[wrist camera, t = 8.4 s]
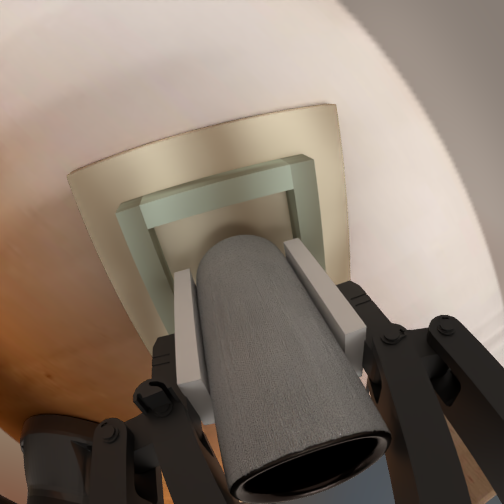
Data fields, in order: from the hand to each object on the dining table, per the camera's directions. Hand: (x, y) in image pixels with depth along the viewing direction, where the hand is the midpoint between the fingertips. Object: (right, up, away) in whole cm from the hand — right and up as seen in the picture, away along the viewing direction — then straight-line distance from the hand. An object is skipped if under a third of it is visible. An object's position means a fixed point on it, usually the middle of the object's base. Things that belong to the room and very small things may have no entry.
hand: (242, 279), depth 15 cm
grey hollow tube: (0, 0, 0) cm, 0 cm away
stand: (-1, +1, +3) cm, 3 cm away
